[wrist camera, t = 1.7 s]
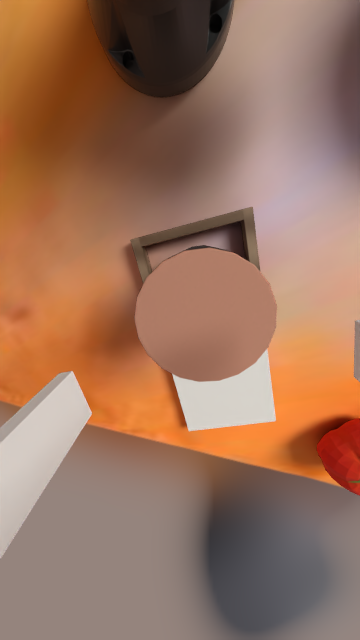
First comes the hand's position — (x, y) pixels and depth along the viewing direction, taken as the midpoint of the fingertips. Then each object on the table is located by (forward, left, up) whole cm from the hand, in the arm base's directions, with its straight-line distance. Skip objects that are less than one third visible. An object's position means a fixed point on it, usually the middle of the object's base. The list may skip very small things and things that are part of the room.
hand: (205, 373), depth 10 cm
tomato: (+34, +21, -25) cm, 47 cm away
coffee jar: (0, 0, -24) cm, 24 cm away
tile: (+19, 0, -24) cm, 31 cm away
